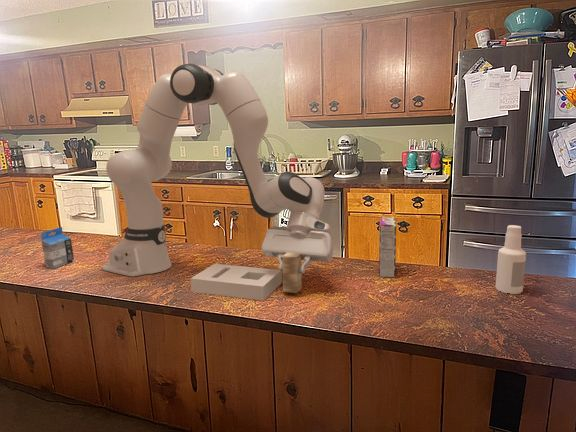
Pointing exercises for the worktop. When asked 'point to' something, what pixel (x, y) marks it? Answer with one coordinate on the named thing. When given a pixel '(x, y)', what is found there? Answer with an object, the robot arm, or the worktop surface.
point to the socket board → (237, 281)
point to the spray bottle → (511, 263)
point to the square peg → (291, 272)
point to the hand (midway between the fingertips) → (291, 271)
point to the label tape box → (56, 248)
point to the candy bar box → (387, 247)
